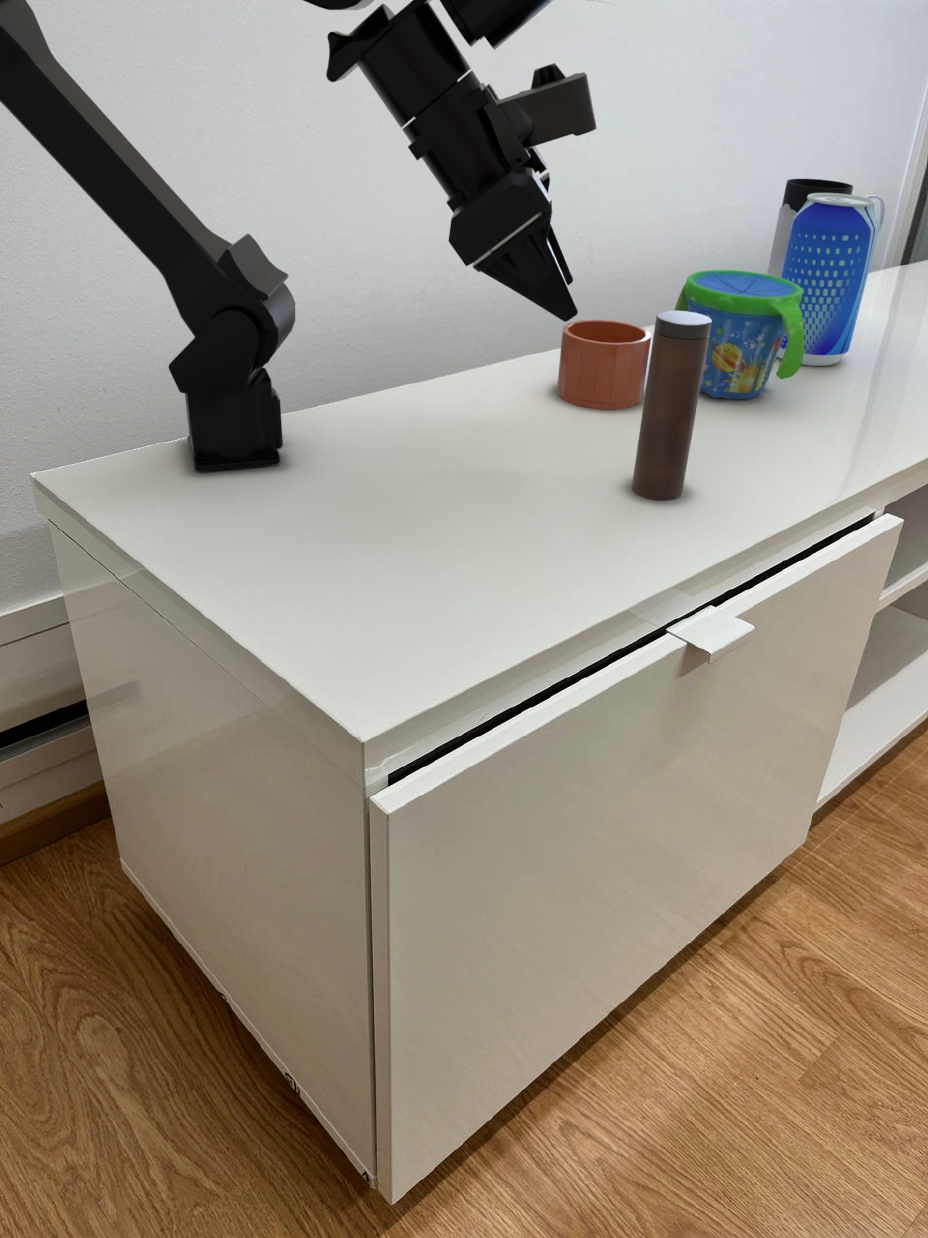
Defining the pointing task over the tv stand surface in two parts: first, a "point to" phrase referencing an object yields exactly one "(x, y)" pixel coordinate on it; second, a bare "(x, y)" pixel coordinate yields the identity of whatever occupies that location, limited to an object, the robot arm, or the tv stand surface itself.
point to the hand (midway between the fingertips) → (570, 300)
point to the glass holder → (791, 206)
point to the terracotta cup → (603, 364)
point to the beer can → (830, 270)
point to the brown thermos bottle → (670, 403)
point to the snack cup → (745, 328)
